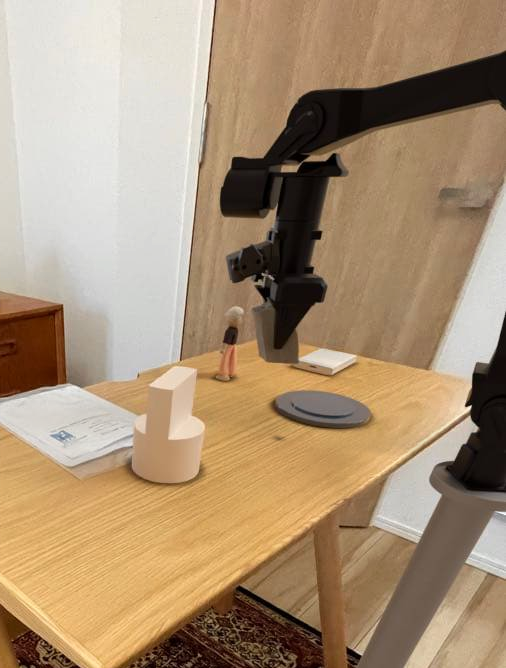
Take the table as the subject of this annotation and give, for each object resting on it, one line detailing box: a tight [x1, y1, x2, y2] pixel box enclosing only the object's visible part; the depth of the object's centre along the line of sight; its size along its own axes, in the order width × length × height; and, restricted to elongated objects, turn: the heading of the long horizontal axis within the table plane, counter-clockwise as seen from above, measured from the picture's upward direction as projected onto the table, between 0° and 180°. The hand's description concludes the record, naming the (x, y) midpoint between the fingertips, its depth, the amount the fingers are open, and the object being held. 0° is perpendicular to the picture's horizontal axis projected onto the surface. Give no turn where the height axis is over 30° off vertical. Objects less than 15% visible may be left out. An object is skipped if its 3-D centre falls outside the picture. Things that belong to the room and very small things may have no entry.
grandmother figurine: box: [215, 305, 245, 382], centre depth 93 cm, size 8×4×13 cm, turn 162°
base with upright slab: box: [131, 365, 206, 484], centre depth 62 cm, size 9×9×12 cm
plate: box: [274, 389, 372, 429], centre depth 83 cm, size 15×15×1 cm
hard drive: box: [292, 348, 358, 376], centre depth 103 cm, size 2×8×12 cm
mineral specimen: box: [250, 301, 300, 365], centre depth 73 cm, size 7×9×8 cm
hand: (272, 343), depth 74 cm, fingers closed on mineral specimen, 6 cm apart
